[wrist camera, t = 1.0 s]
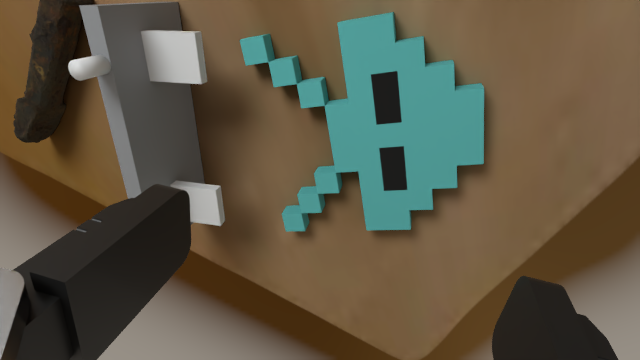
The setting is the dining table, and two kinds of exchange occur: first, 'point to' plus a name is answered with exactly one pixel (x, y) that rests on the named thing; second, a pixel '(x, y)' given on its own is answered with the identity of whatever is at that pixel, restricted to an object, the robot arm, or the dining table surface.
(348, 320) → the dining table surface
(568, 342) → the robot arm
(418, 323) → the dining table surface
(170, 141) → the cabinet side
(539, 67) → the dining table surface
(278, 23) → the dining table surface
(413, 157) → the alien figure
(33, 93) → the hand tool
